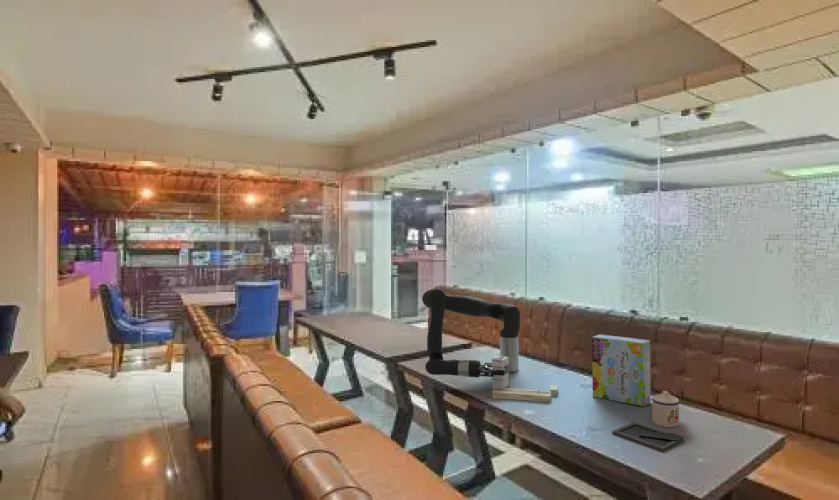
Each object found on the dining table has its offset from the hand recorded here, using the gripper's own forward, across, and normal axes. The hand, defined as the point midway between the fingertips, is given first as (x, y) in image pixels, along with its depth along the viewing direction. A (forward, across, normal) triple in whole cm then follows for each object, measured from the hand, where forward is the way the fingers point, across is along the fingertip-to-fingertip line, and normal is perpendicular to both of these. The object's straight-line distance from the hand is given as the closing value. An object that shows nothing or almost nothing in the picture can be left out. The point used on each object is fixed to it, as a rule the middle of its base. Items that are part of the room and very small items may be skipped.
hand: (505, 370), depth 225 cm
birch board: (+8, -9, +9) cm, 15 cm away
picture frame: (+53, -40, +9) cm, 67 cm away
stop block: (+21, 0, +9) cm, 23 cm away
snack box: (+48, -2, +9) cm, 49 cm away
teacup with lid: (+62, -24, +9) cm, 67 cm away
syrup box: (-2, 0, +9) cm, 9 cm away
